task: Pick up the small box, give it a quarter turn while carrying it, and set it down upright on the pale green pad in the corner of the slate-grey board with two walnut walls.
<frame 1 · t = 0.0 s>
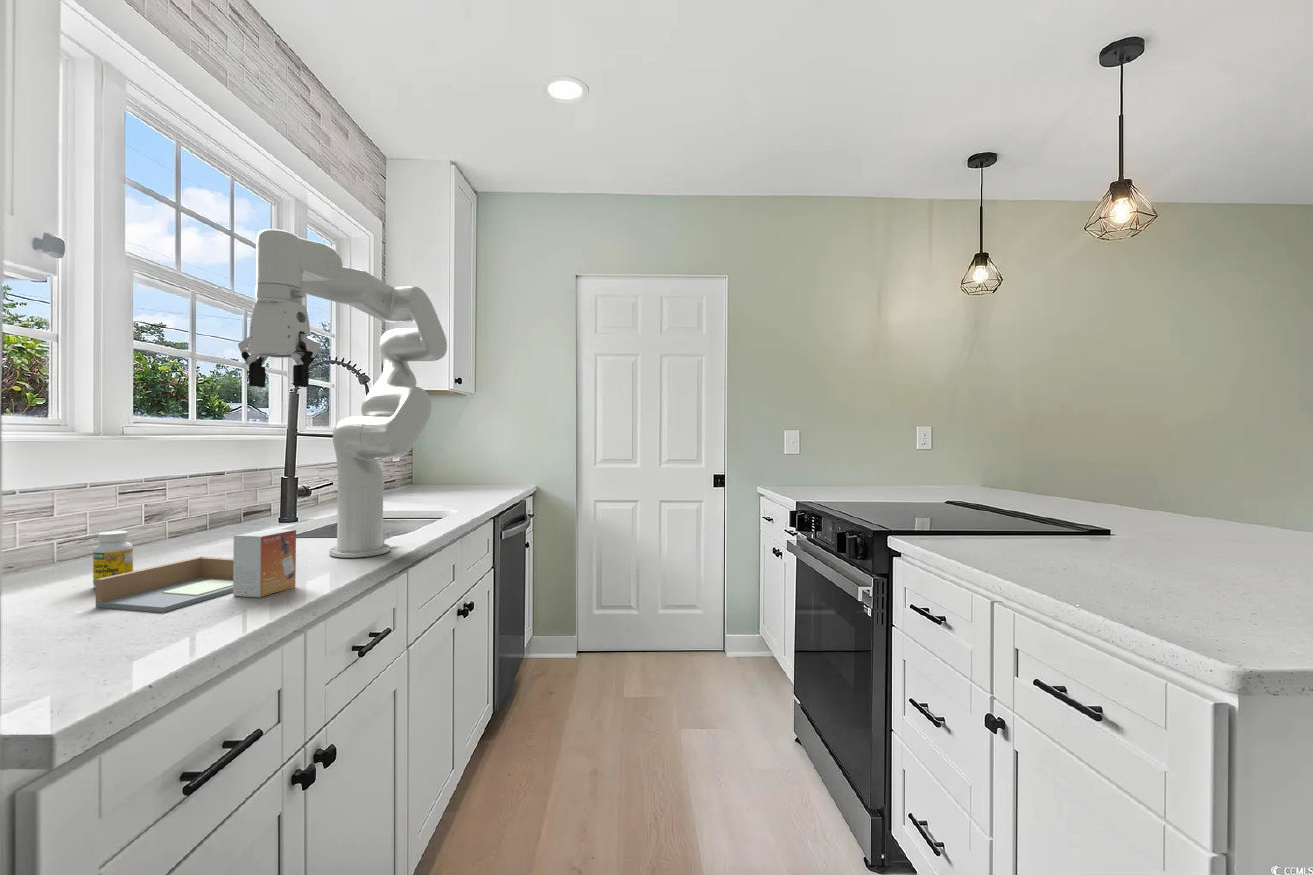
hand: (278, 386, 116), 37 cm above the counter, tool pointing down, fingers open, 9 cm apart
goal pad: (204, 592, 105), resting on arena
supplement bottle: (113, 586, 109), on the counter
small box: (265, 592, 107), on the counter
arena: (183, 594, 104), on the counter
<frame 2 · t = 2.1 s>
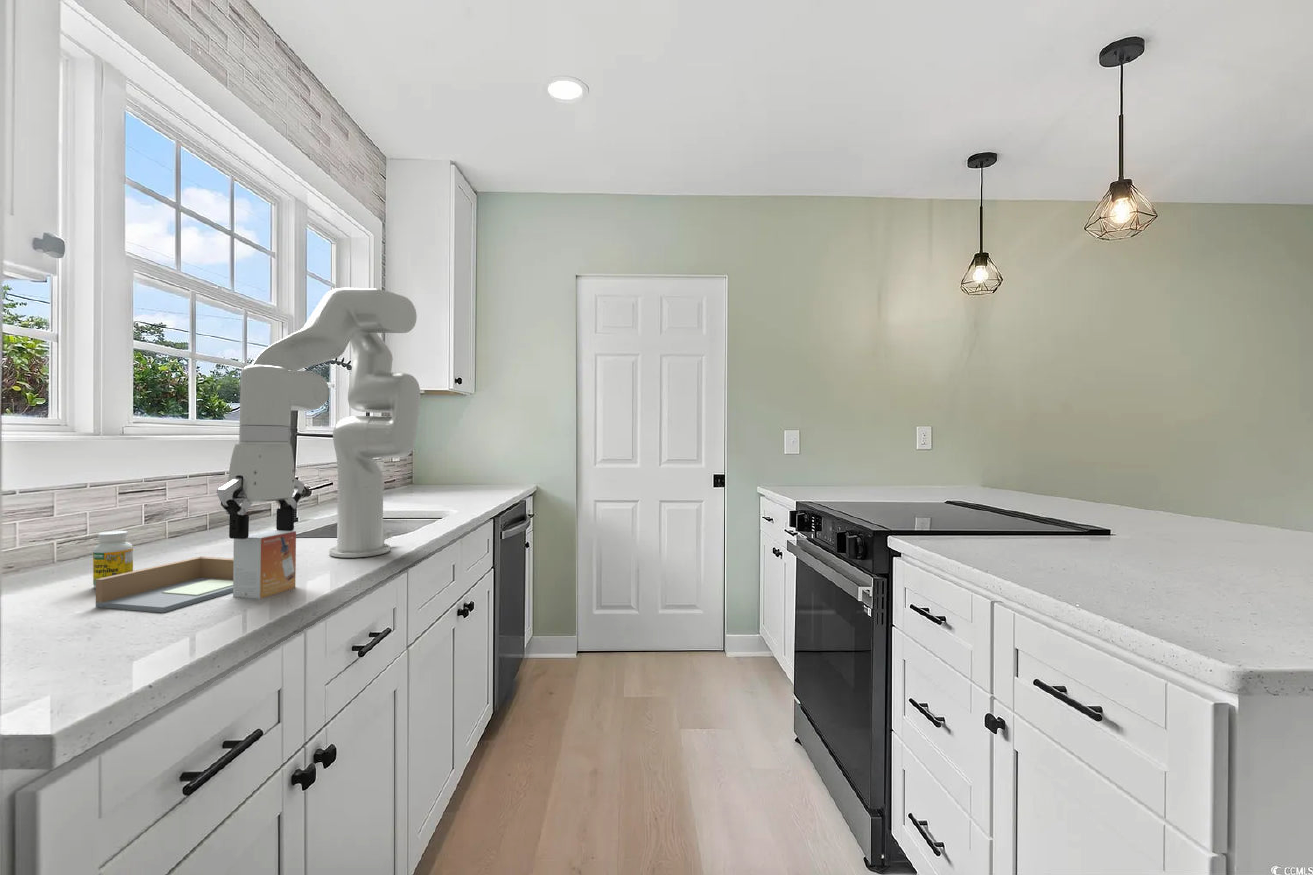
hand: (262, 534, 106), 10 cm above the counter, tool pointing down, fingers open, 9 cm apart
small box: (265, 594, 107), on the counter, touching gripper
everything else where it was.
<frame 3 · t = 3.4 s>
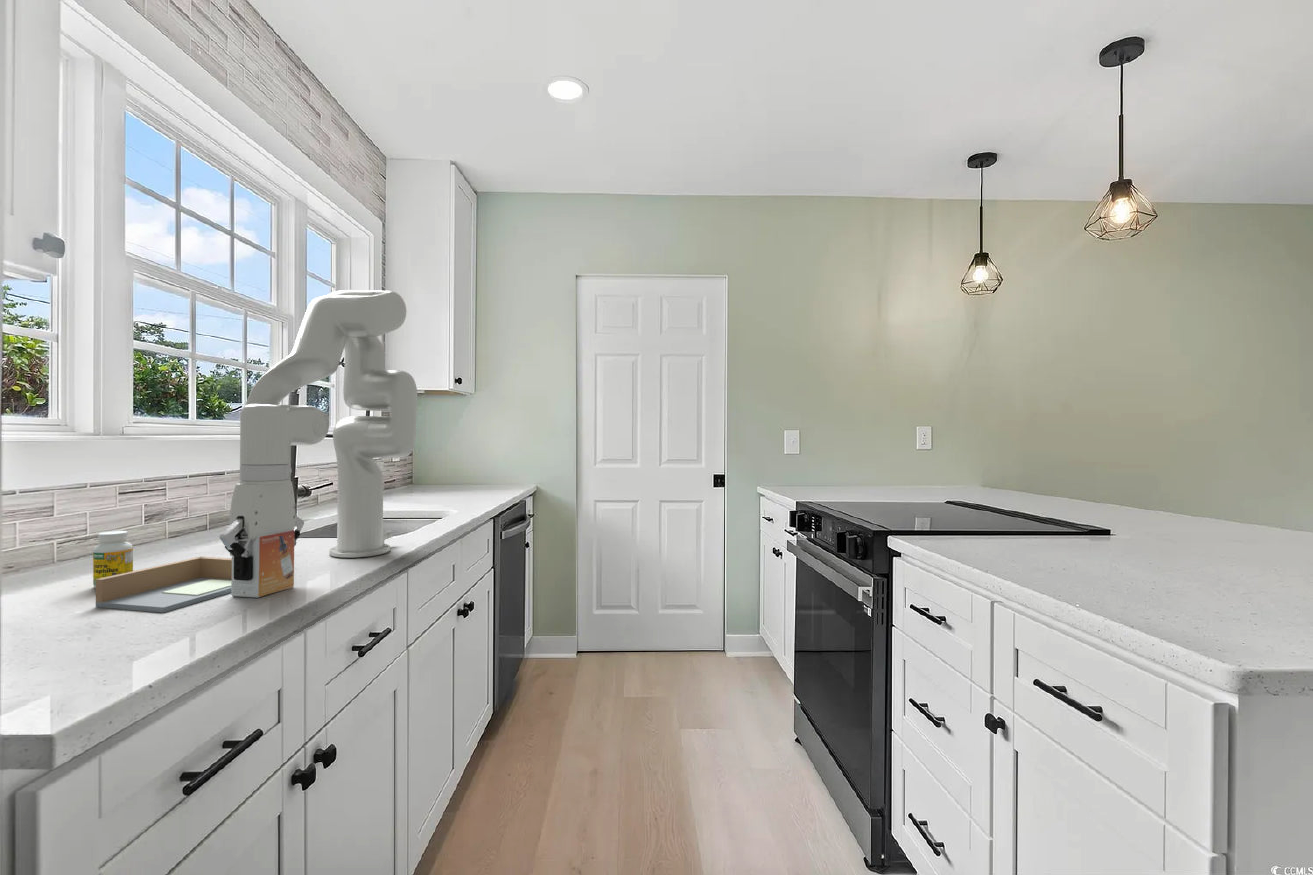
hand: (264, 573, 106), 3 cm above the counter, tool pointing down, fingers closed on small box, 8 cm apart
small box: (263, 592, 106), on the counter, touching gripper
everything else where it was.
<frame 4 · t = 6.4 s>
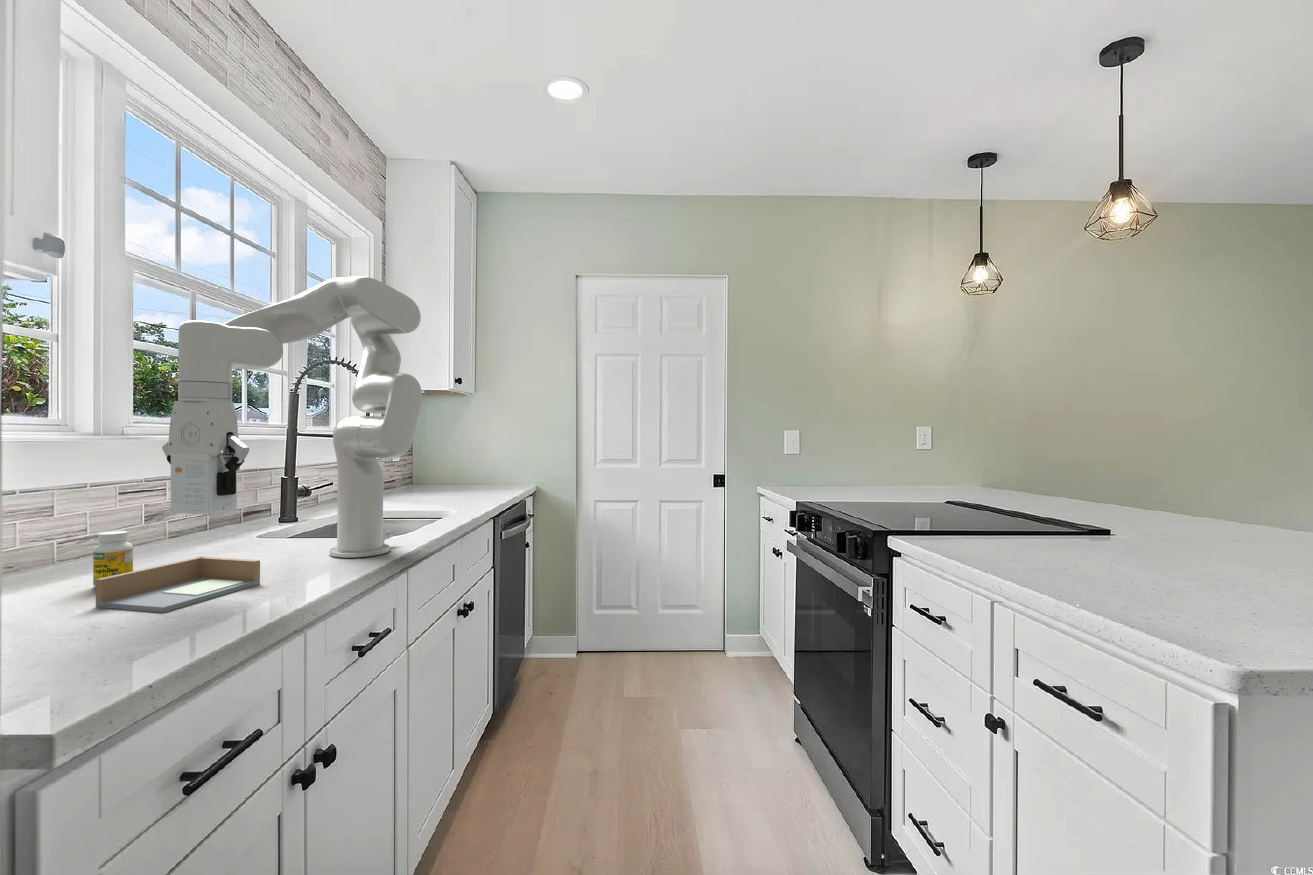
hand: (205, 493, 105), 17 cm above the counter, tool pointing down, fingers closed on small box, 8 cm apart
small box: (204, 513, 105), point 14 cm above the counter, touching gripper
everything else where it was.
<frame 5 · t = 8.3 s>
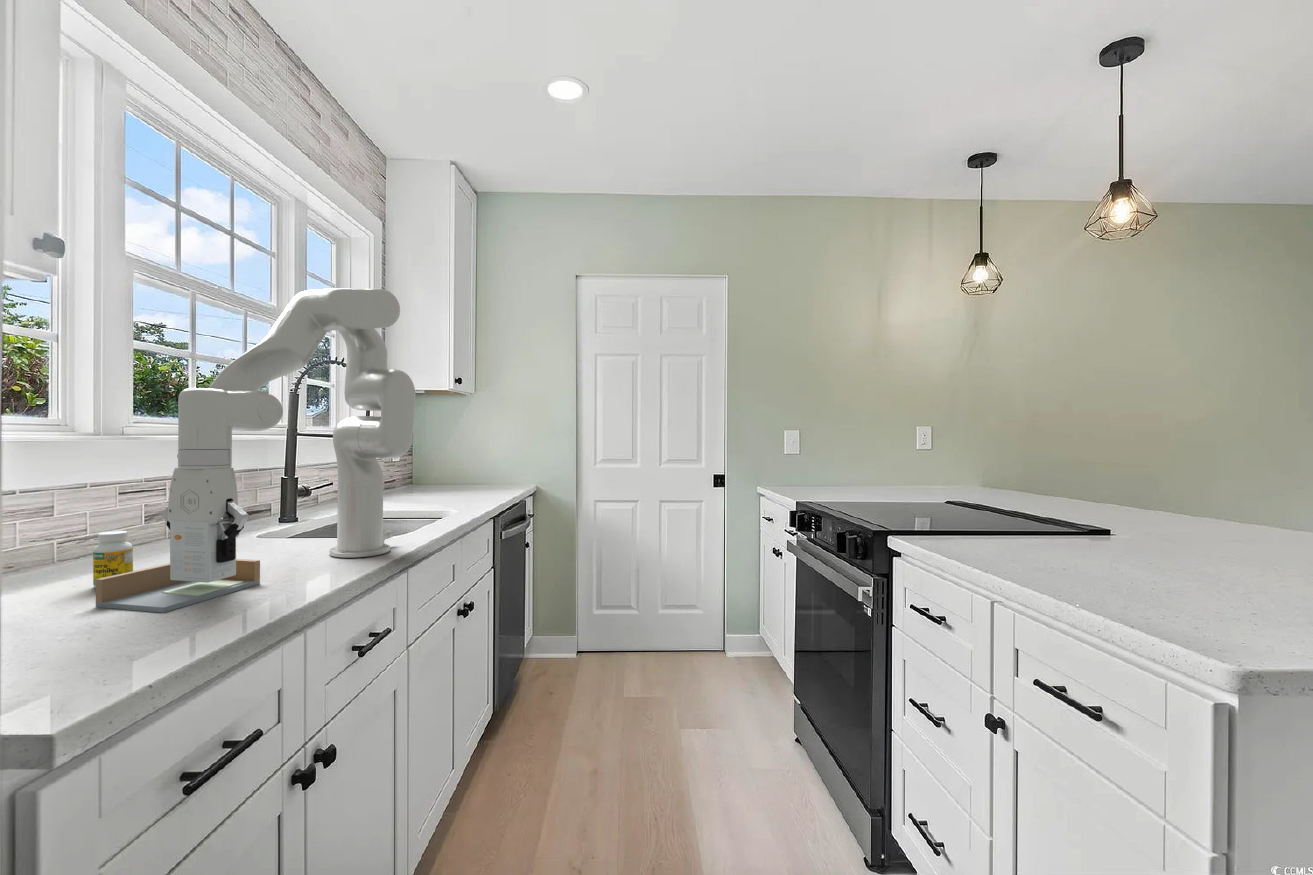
hand: (204, 559, 105), 6 cm above the counter, tool pointing down, fingers closed on small box, 8 cm apart
small box: (203, 579, 105), point 2 cm above the counter, touching gripper
everything else where it was.
when the fingers open (5 cm above the counter, at t = 9.5 s): small box stays where it is, resting on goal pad.
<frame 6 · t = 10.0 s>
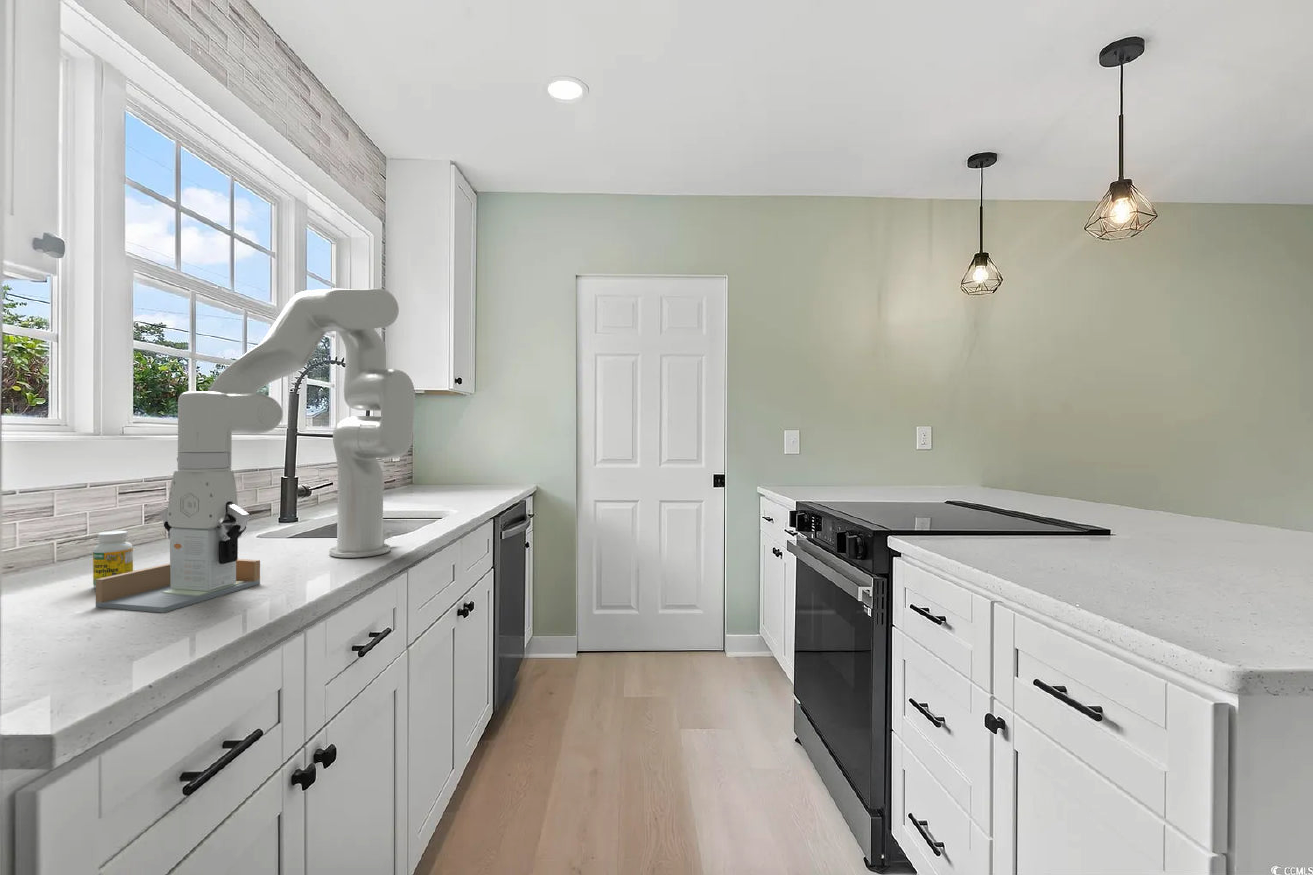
hand: (204, 560, 105), 6 cm above the counter, tool pointing down, fingers open, 9 cm apart
small box: (203, 587, 105), point 1 cm above the counter, touching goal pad
everything else where it was.
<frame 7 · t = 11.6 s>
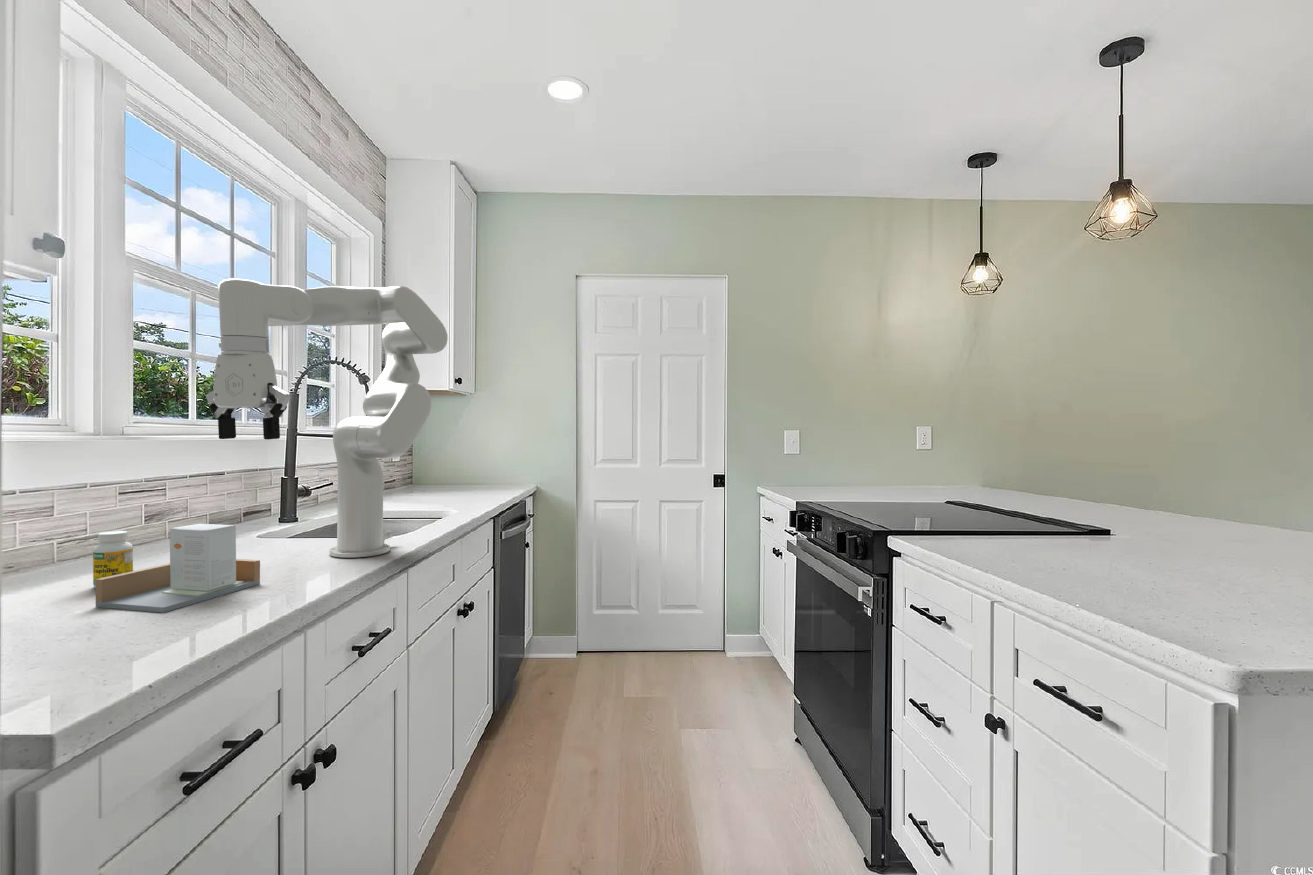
hand: (249, 438, 114), 27 cm above the counter, tool pointing down, fingers open, 9 cm apart
nothing on the counter moved.
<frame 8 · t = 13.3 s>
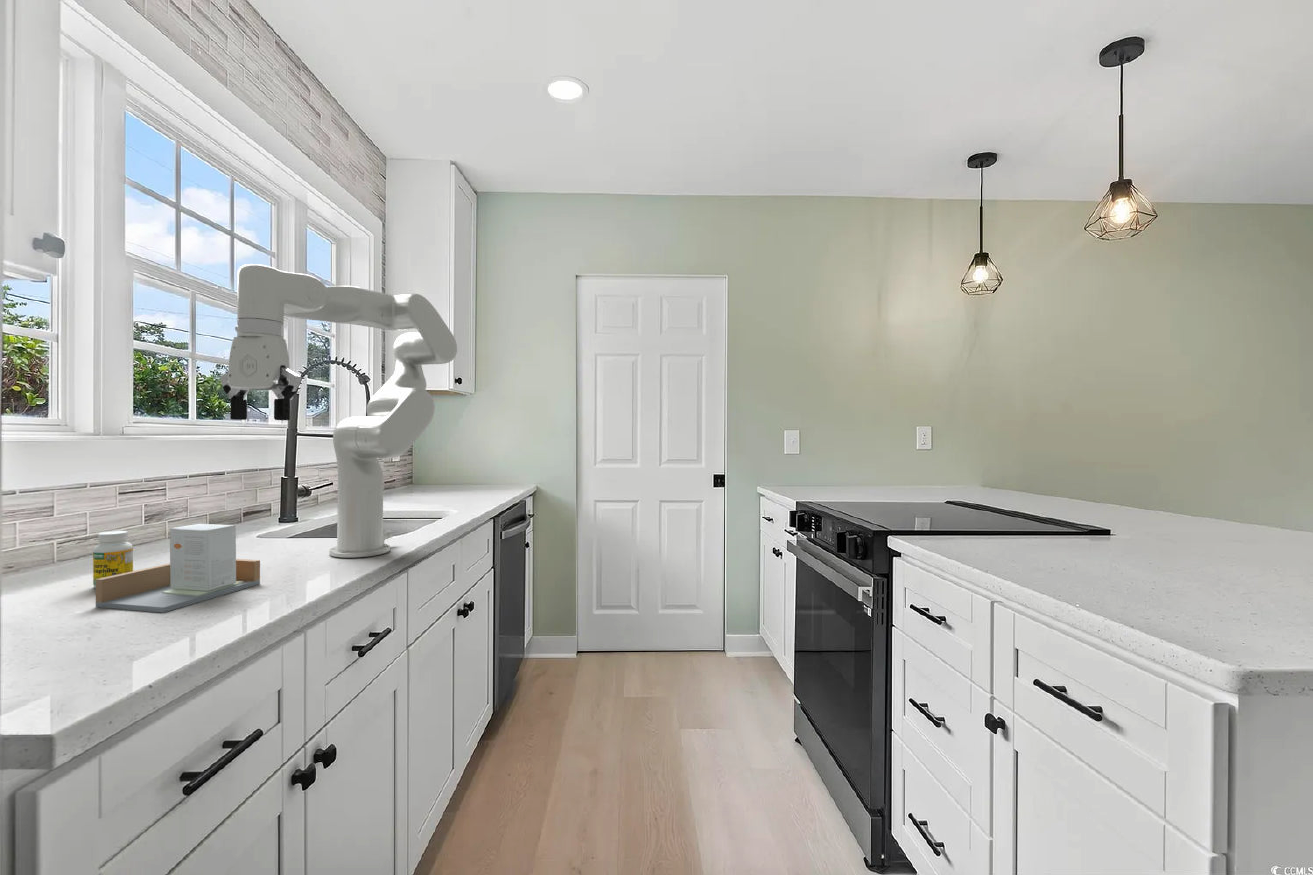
hand: (260, 419, 117), 30 cm above the counter, tool pointing down, fingers open, 9 cm apart
nothing on the counter moved.
at the end: small box inside the target area (0.2 cm from its centre), point 0.8 cm above the counter; small box tilted 0°; the gripper is holding nothing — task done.
